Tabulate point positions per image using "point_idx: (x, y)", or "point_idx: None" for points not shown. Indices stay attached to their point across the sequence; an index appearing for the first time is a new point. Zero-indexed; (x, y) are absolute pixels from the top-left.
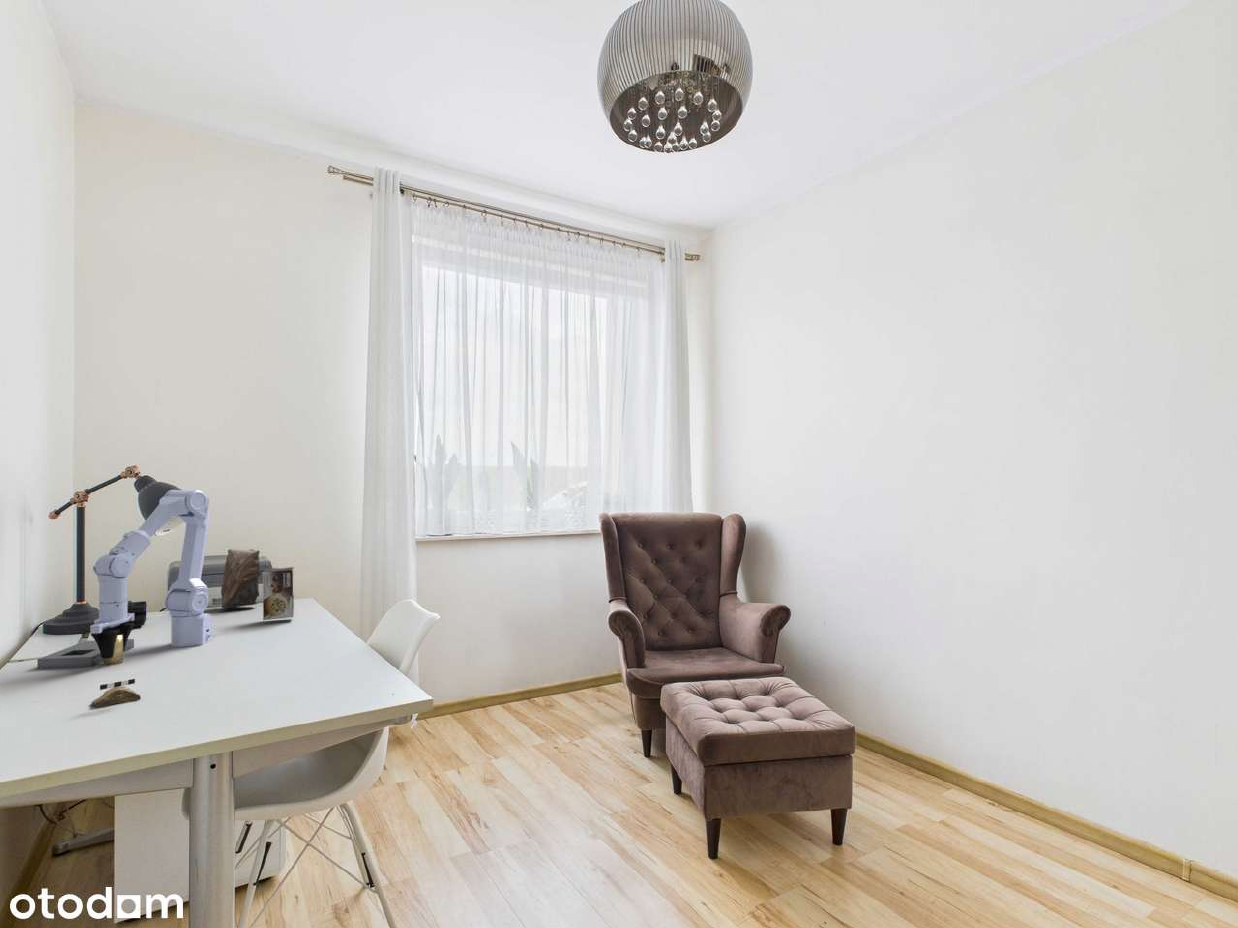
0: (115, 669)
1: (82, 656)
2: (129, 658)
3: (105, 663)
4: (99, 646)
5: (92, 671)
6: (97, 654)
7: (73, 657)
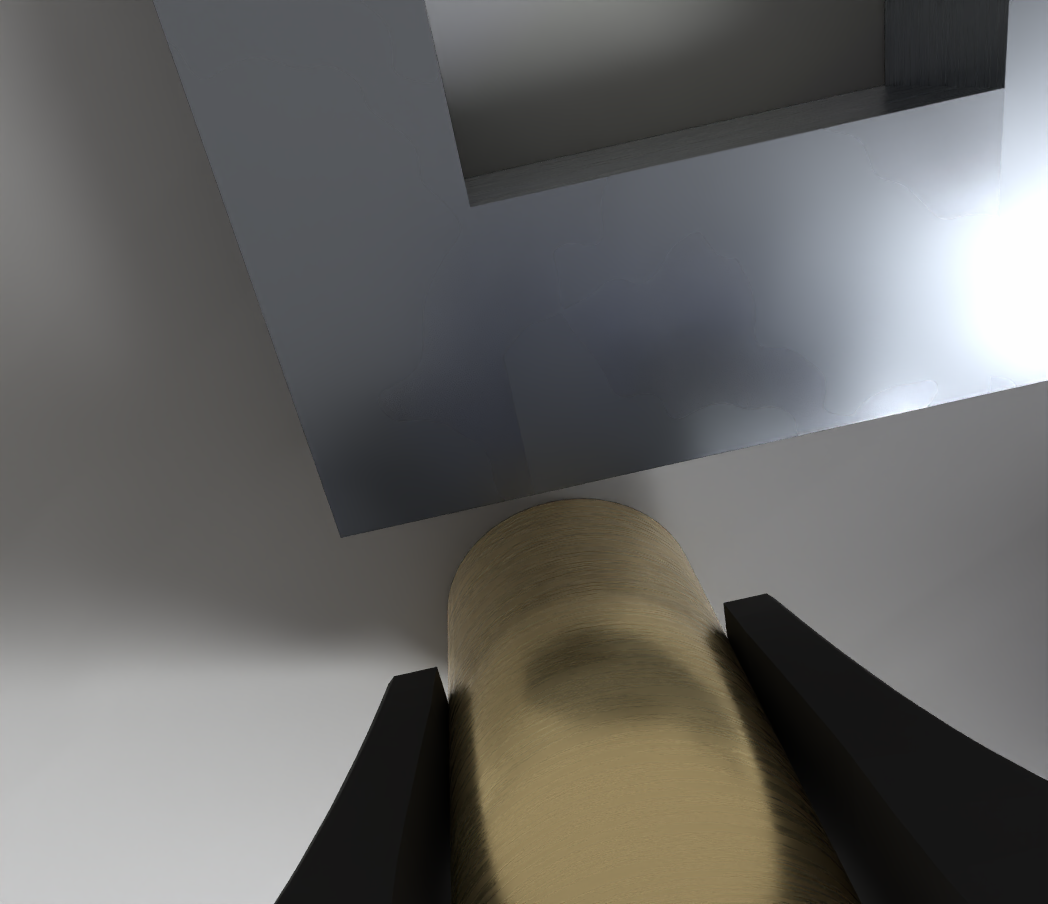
0: (285, 852)
1: (354, 309)
2: (819, 632)
3: (450, 616)
4: (302, 884)
5: (137, 670)
6: (537, 491)
7: (235, 162)
